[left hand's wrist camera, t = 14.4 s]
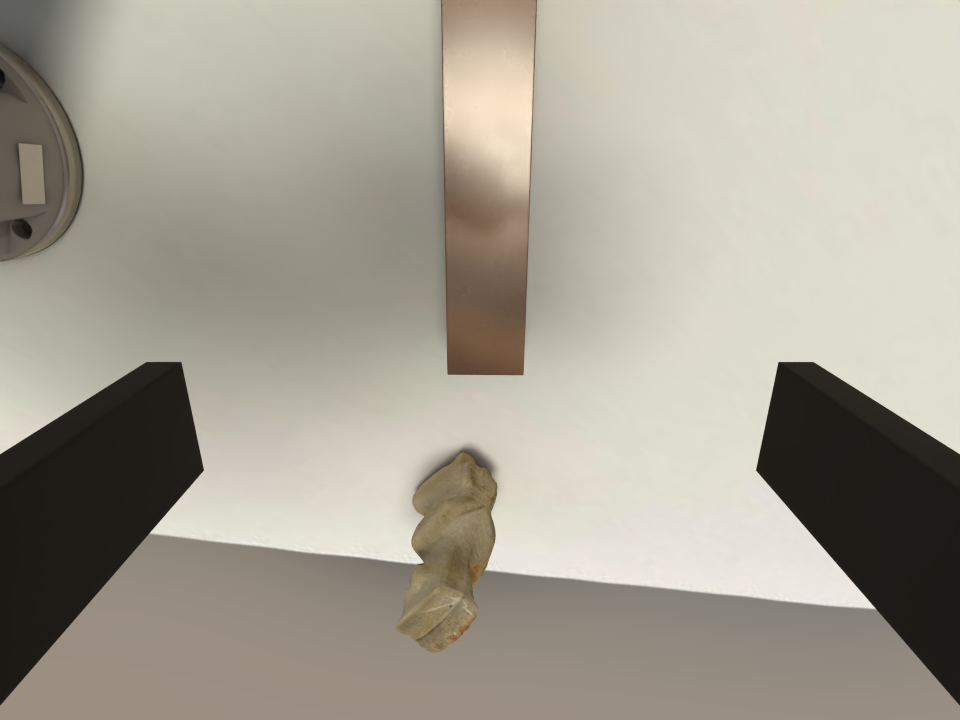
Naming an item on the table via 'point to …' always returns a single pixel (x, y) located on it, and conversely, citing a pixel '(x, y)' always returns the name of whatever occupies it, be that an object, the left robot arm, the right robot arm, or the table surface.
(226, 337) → the table surface
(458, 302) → the bar
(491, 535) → the sculpture
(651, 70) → the table surface
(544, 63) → the table surface
